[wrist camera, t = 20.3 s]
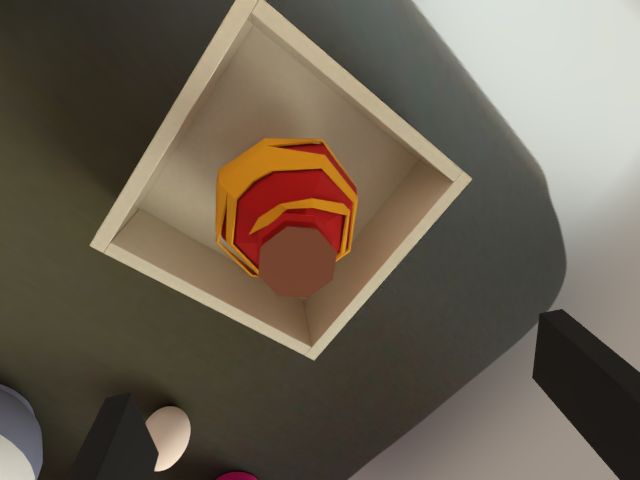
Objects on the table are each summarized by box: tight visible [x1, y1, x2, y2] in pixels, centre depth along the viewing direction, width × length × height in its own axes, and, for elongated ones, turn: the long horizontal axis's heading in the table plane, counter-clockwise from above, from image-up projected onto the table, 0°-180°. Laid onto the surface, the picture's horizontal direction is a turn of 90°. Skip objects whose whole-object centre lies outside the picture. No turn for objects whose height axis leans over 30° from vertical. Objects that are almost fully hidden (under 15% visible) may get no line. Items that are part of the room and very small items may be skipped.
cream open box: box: [90, 0, 472, 360], centre depth 31 cm, size 19×19×8 cm
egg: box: [145, 406, 191, 471], centre depth 40 cm, size 5×5×7 cm
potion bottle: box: [215, 138, 358, 297], centre depth 26 cm, size 10×10×15 cm
